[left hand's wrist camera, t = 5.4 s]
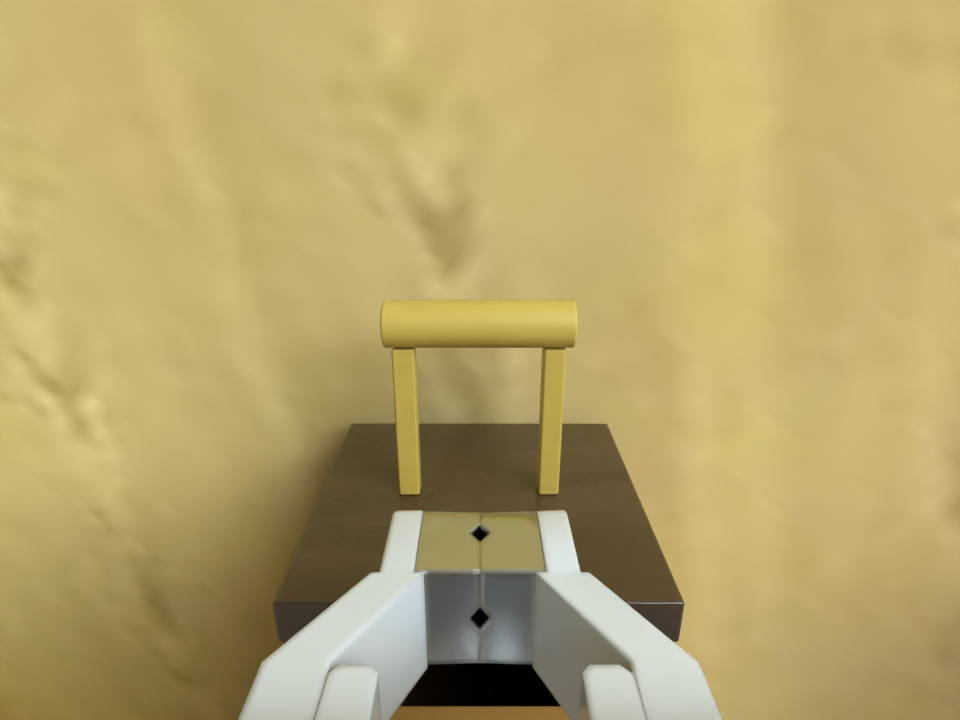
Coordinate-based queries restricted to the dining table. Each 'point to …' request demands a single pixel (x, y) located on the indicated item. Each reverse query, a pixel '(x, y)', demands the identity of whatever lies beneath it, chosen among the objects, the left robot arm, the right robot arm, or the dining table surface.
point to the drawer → (478, 489)
